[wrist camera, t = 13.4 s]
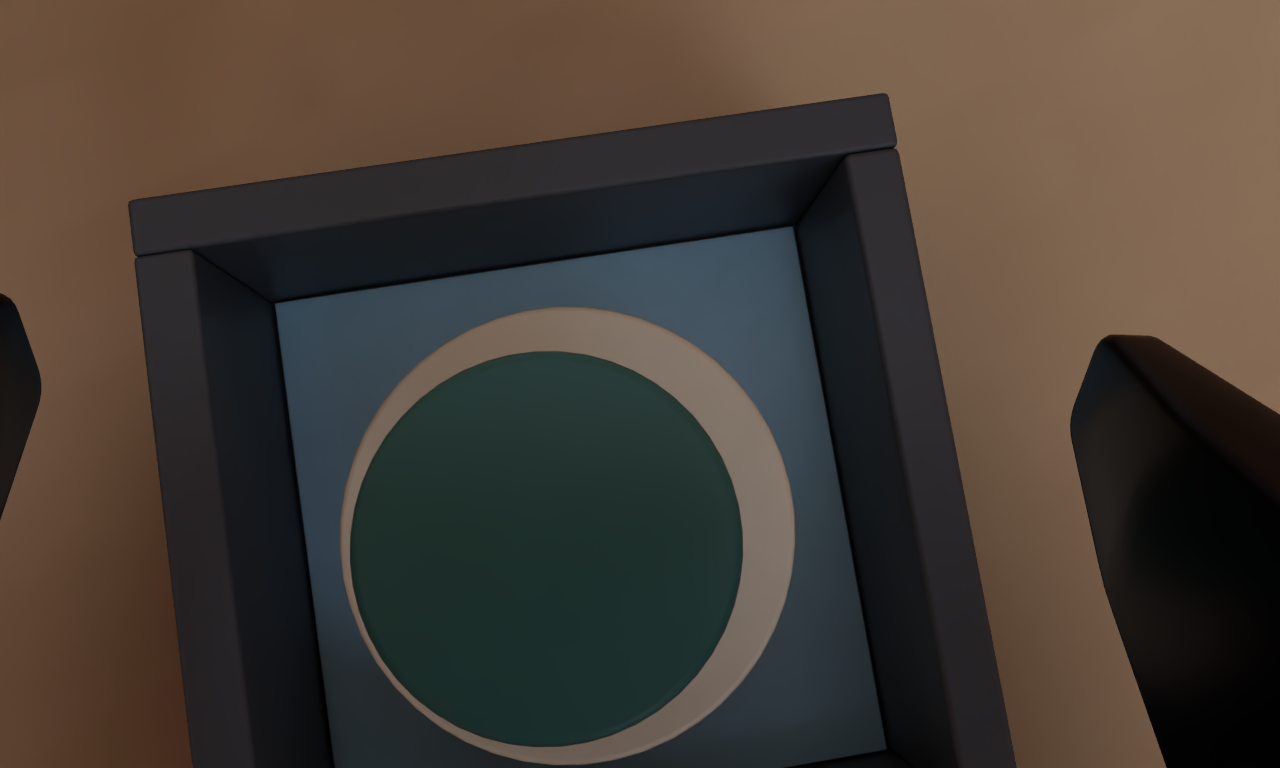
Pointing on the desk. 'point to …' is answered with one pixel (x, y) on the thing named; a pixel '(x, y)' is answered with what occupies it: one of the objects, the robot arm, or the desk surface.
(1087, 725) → the desk surface
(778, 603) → the teal peg on disc
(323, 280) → the divided storage tray
